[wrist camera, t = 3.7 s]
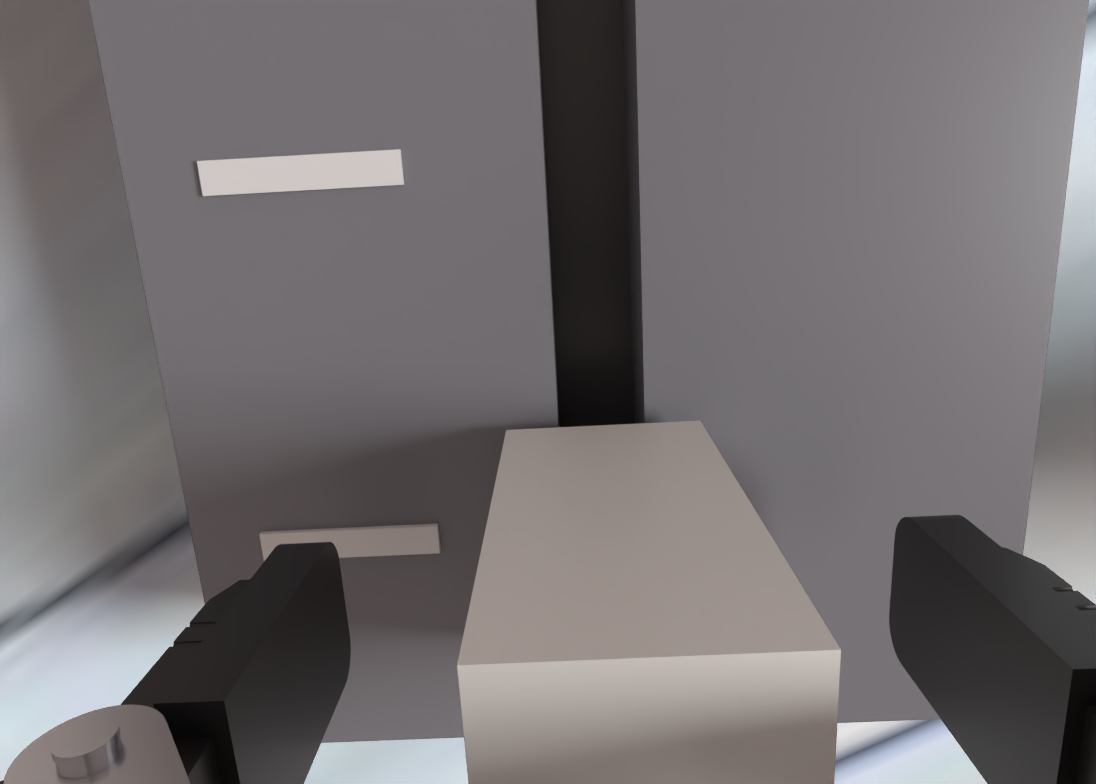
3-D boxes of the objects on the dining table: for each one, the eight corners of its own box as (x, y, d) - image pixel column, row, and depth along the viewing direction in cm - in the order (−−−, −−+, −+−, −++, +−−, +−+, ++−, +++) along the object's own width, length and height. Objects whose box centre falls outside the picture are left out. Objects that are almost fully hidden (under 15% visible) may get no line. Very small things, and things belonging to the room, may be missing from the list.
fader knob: (513, 395, 14) (456, 666, 6) (679, 387, 14) (841, 650, 6) (526, 593, 15) (494, 1042, 7) (681, 587, 15) (821, 1033, 7)
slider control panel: (132, -614, 13) (-132, -1113, 8) (973, -684, 12) (1244, -1253, 8) (315, 602, 19) (230, 750, 14) (886, 577, 18) (1006, 720, 13)
